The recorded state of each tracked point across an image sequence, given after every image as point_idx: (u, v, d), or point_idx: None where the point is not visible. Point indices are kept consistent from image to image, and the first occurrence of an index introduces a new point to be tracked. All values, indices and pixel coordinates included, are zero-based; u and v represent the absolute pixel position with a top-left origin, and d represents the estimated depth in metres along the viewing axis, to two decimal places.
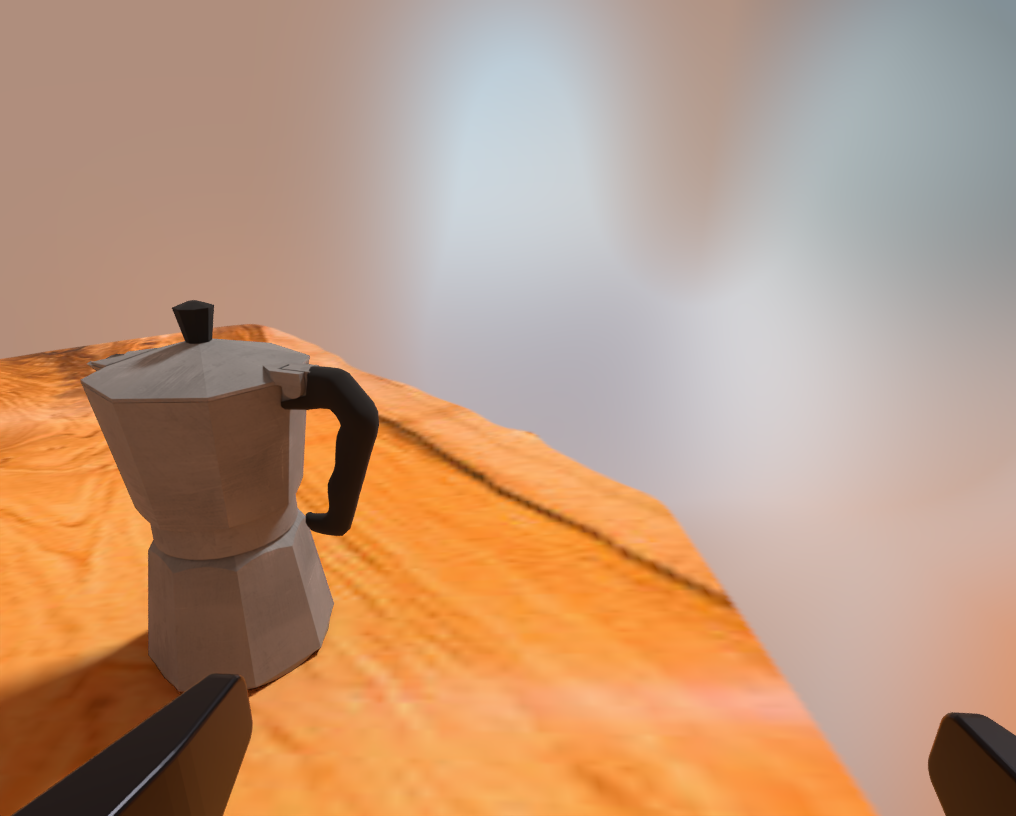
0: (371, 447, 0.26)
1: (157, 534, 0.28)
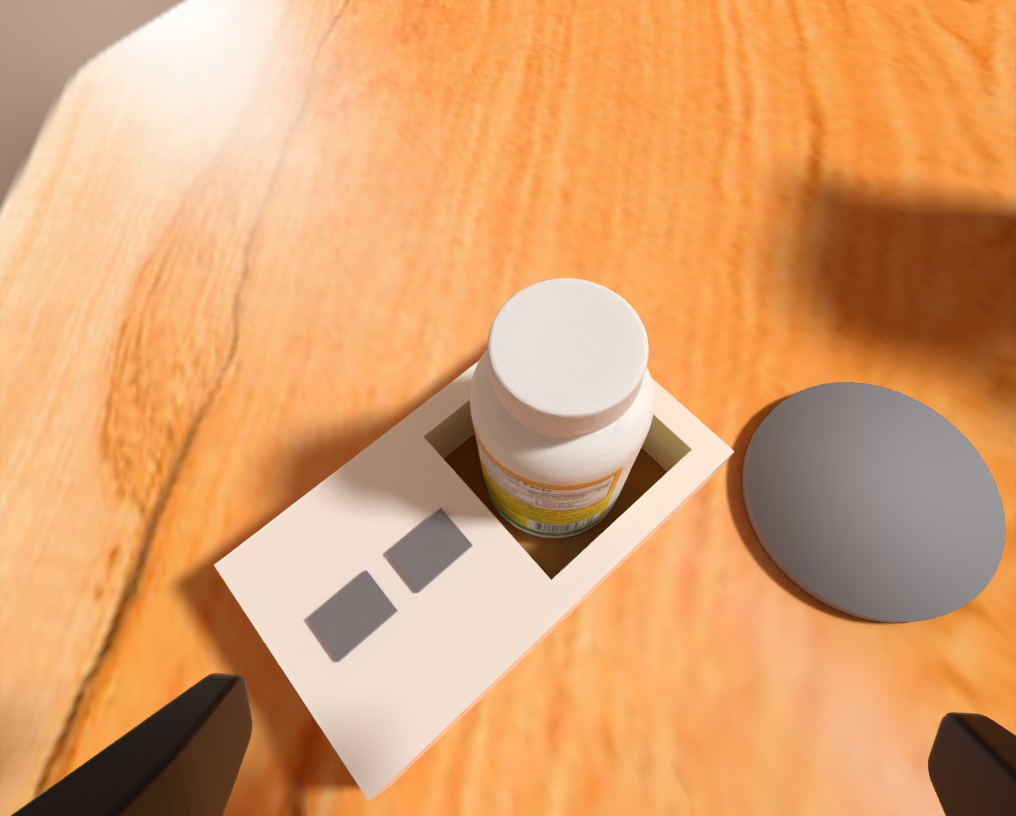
0: None
1: None
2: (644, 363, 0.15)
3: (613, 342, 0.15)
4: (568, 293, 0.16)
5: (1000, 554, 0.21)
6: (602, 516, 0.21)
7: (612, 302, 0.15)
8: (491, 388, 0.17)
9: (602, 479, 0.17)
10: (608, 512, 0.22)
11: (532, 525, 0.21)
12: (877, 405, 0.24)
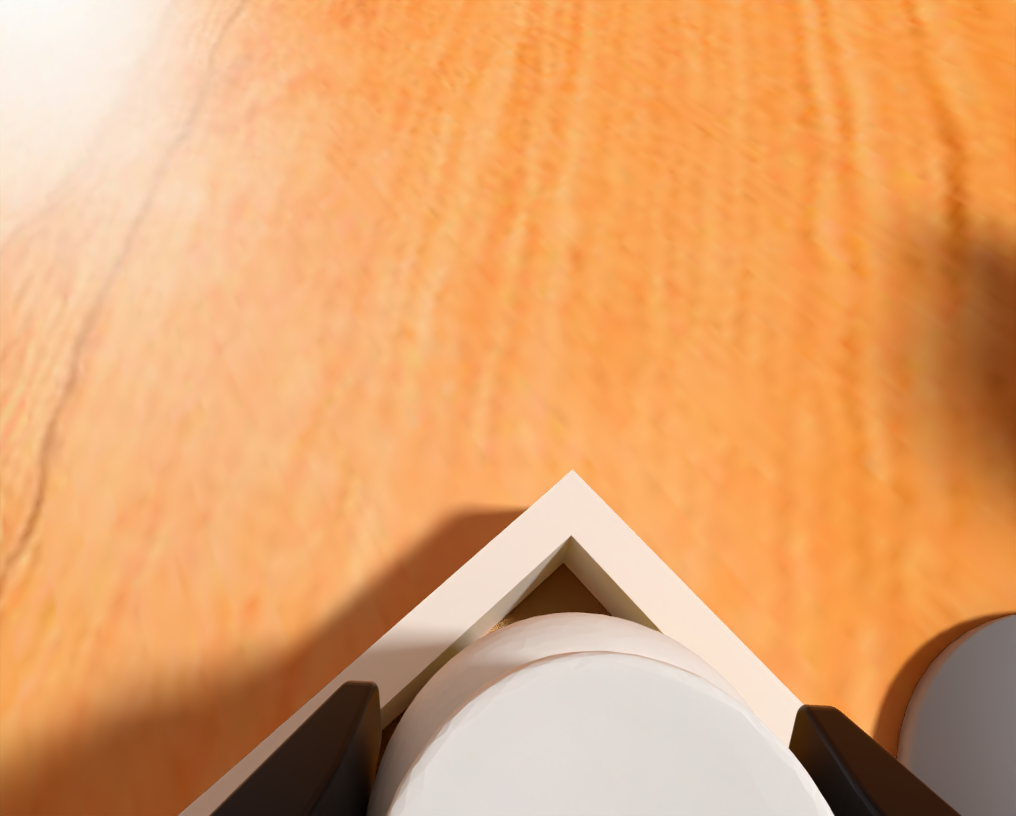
0: None
1: None
2: None
3: None
4: (614, 717, 0.05)
5: None
6: None
7: (747, 755, 0.05)
8: None
9: None
10: None
11: None
12: None
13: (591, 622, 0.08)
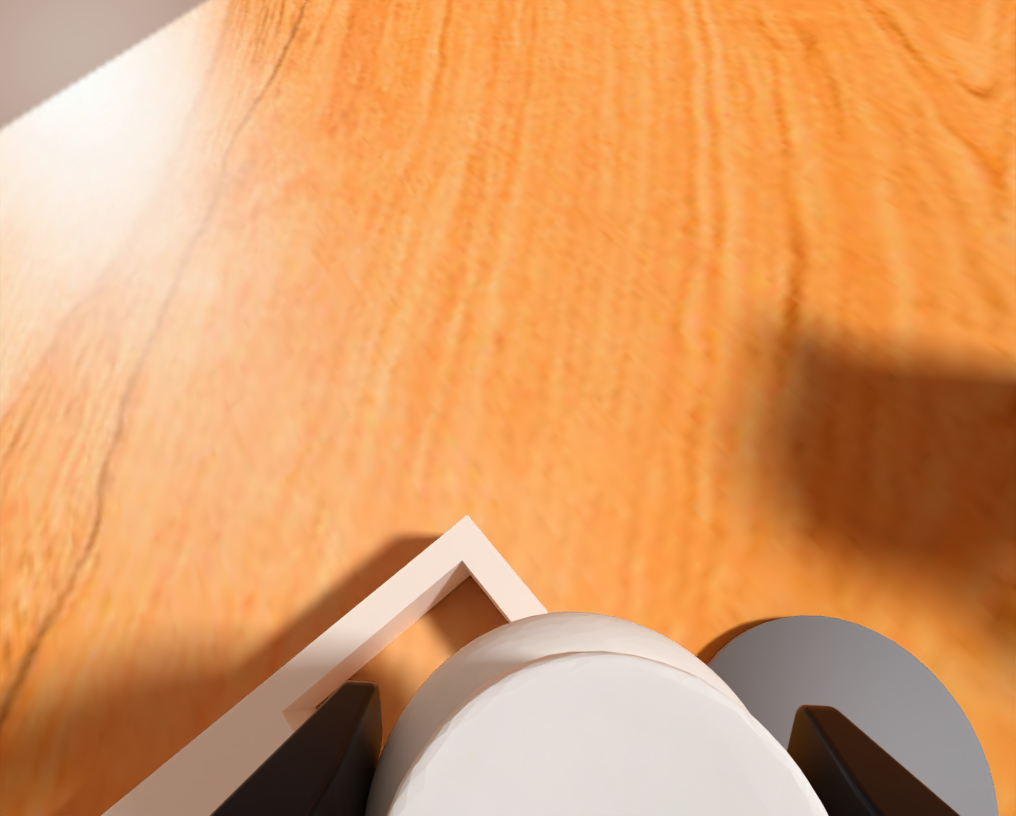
0: None
1: None
2: None
3: None
4: (612, 715, 0.05)
5: None
6: None
7: (742, 753, 0.05)
8: None
9: None
10: None
11: None
12: (849, 649, 0.20)
13: (588, 622, 0.08)
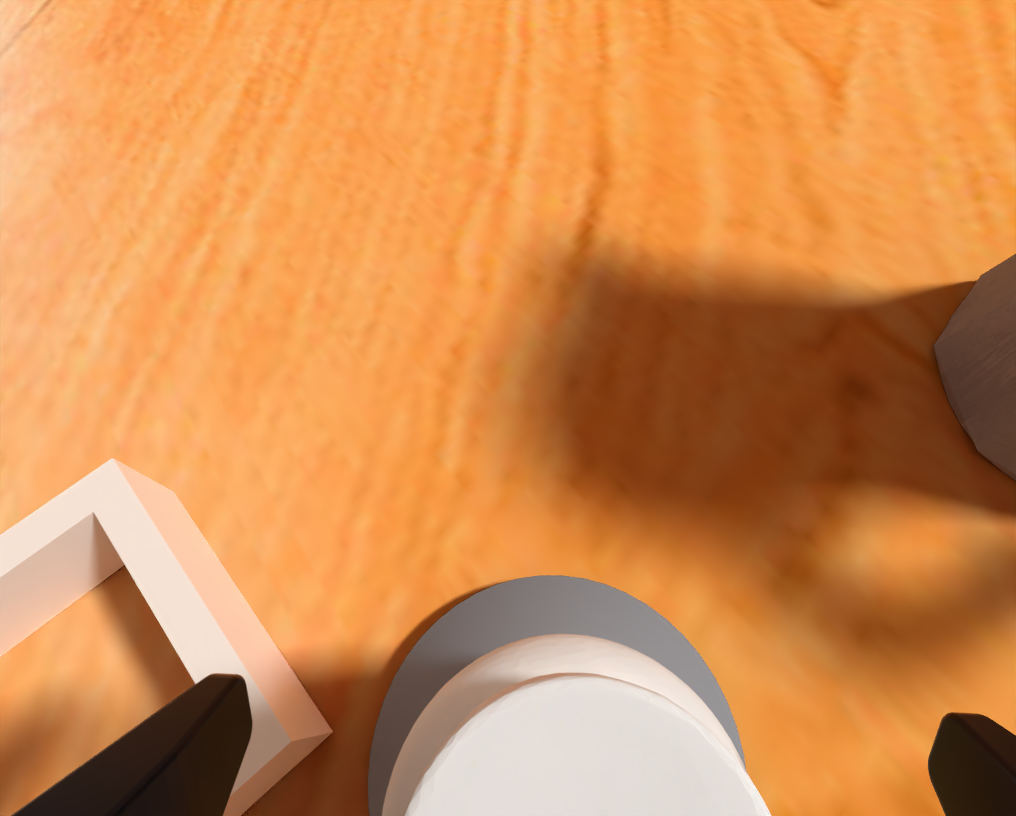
0: None
1: None
2: None
3: None
4: (590, 730, 0.06)
5: None
6: None
7: (698, 760, 0.06)
8: None
9: None
10: None
11: None
12: (591, 614, 0.16)
13: (577, 644, 0.09)
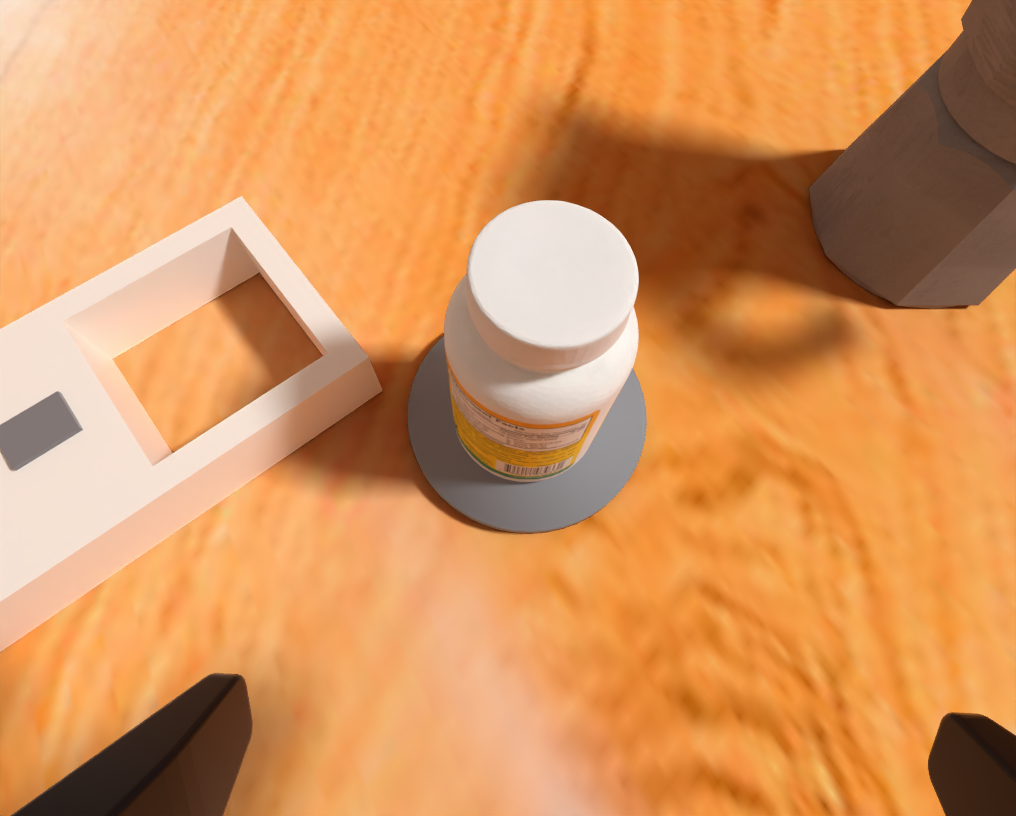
0: None
1: (962, 79, 0.20)
2: (633, 297, 0.14)
3: (602, 272, 0.14)
4: (558, 217, 0.14)
5: (629, 475, 0.22)
6: (573, 462, 0.21)
7: (604, 230, 0.14)
8: (468, 316, 0.16)
9: (578, 420, 0.16)
10: (579, 458, 0.22)
11: (501, 467, 0.20)
12: None
13: None
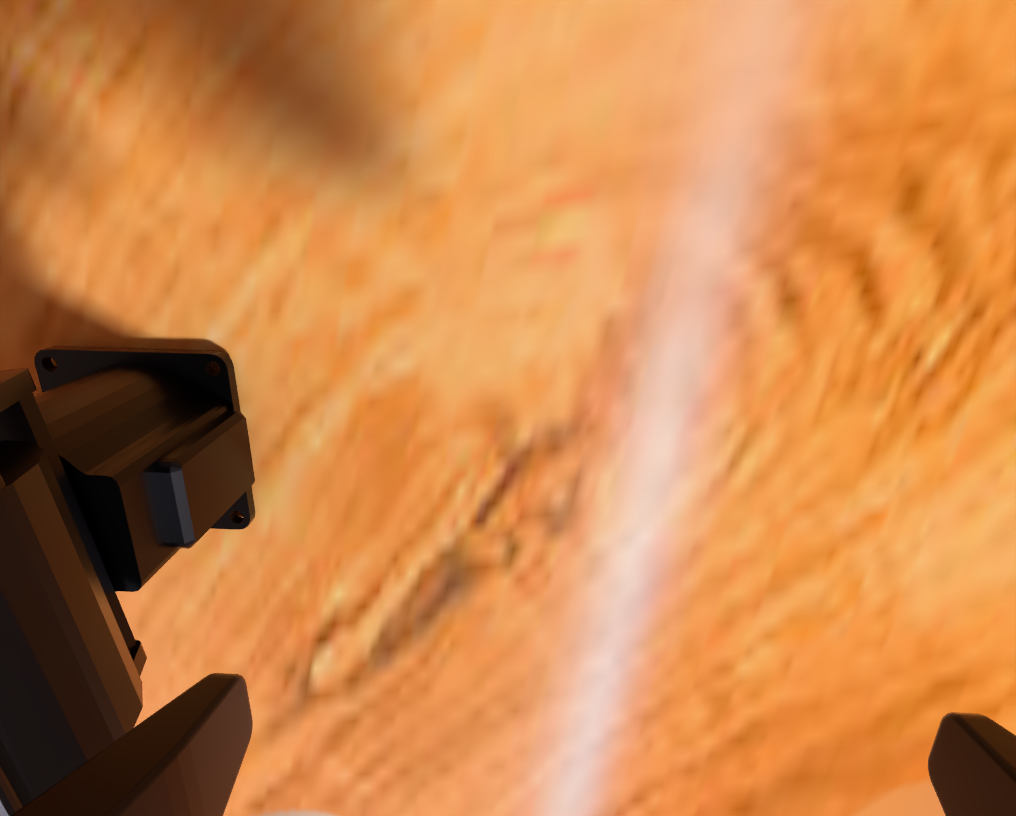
0: None
1: None
2: None
3: None
4: None
5: None
6: None
7: None
8: None
9: None
10: None
11: None
12: None
13: None
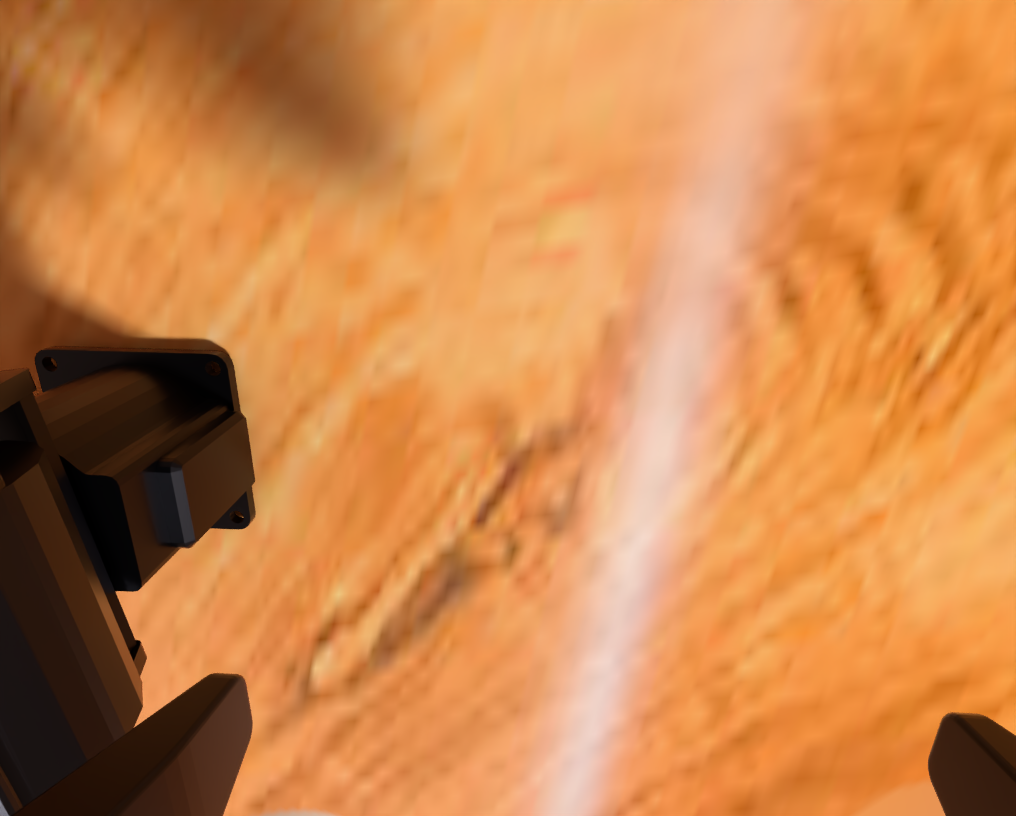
0: None
1: None
2: None
3: None
4: None
5: None
6: None
7: None
8: None
9: None
10: None
11: None
12: None
13: None
